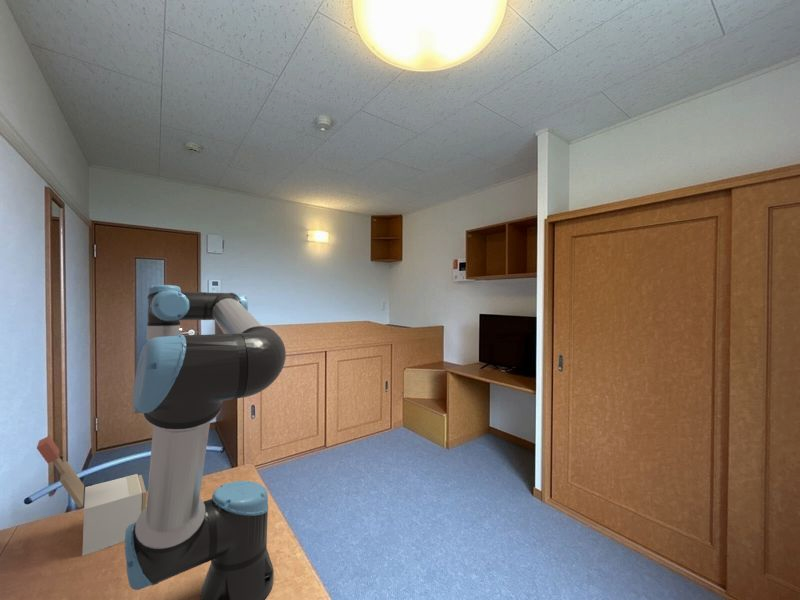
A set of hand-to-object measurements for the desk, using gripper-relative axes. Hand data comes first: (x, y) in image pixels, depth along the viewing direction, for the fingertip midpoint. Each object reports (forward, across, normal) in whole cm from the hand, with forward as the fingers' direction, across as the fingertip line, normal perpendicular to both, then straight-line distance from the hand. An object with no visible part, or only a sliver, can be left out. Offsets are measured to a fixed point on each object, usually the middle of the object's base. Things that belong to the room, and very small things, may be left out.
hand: (161, 418), depth 92 cm
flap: (+12, +15, +18) cm, 27 cm away
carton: (+34, +15, +8) cm, 38 cm away
